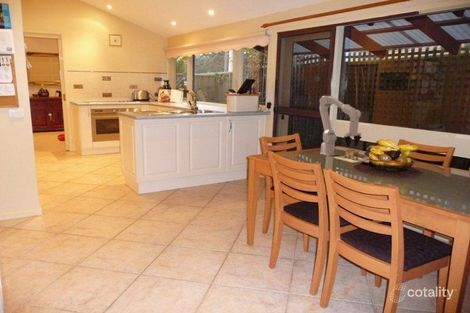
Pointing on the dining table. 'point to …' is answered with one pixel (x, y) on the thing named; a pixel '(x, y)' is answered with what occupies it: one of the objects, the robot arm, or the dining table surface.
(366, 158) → the stone
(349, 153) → the stool
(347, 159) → the mat
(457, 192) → the dining table surface
